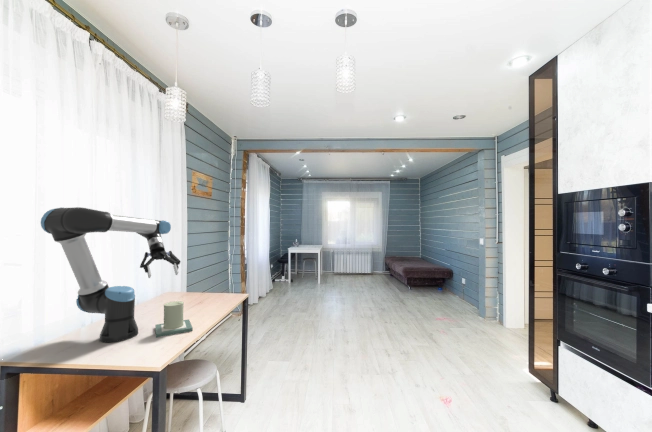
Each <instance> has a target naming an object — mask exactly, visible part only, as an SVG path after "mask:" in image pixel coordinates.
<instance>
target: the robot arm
mask: <svg viewBox="0 0 652 432" xmlns="http://www.w3.org/2000/svg"><path fill="white" fill-rule="evenodd" d="M40 227H41V229H42V230H43V231H44V232H46V233H48V234H50V235H51V236H52V238H53V240H54V242H55V243H59V244H60V245H61V248H62V249H63V252H64V255H65V256H66V260H67V261H68V264H69V266H70V268H71V270H72V273H73V275H74V278H75V279H76V281H77V284H78V286H79V289H78V291H77V294H78V295H77V298H76V301H75V303H76V306H77V308H78V310H80V311H82V312H84V313H88V314H102V315H104V323H103V327H102V329H101V331H100V334H99V341H100V342H102V343H115V342H116V343H117V342H121V341H125V340H129V339H132V338H135V337H136V336H138V334H139V327H138V325H137V322H136V319H135V307H136V305H135V304H136V301H135V300H136V295H135V292H136V291H135V289H134V288H133V287H131V286H126V285H123V286H121V285H116V286H109V284H108V282H107V281H105V280H103V279H102V277H101V275H100V272H99V270H98V268H97V265H96V262H95V260H94V257H93V255H92V254H91V249H90V247H89V245H88V243H87V241H86V240H87V239H86V238H85V236H86V235H87V234H88V233H91V234H92V233H107V232H109V231H110V232H126V233H136V234H138V235H140V236H142V237H143V238H145V239H146V240H147V243H148V248H149V252H147V251H146V252H145V253H144V256H143V259H142V261H141V263H140V265H139V268H141V269H142V268H143V270H144V272H145V273H146V274H147V276H148V279H151V276H152V273H151V269H150V265H151V264H152V263H153V262H154V261H155V260H156V261H157V260H163V261H166V262H168V263H169V264H171V265H173V266H172V267H173V270H174V275H175V276H178V274H179V266H180V264H181V260H180V258H178V257H177V256H176V255H175V254H174V253H173V252H172V250H169V251H166V249H165V245H164V241H163V239H162V235H166V234H169V232H170V231H171V229H172V225H171V222H169V221H168V220H158V219H150V218H149V219H148V218H141V217H133V216H126V215H125V216H124V215H118V214H117V215H115V214H111V212H109V211H103V210H97V209H93V208H88V207H78V206H77V207H56V208H52V209H49V210H47V211H46V212H45V213H44V214H43V215H42V217H41V219H40ZM149 256H150V257H151V258H149ZM148 258H149V259H148ZM147 259H148V260H147Z"/></svg>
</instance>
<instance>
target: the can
mask: <svg viewBox="0 0 652 432" xmlns="http://www.w3.org/2000/svg"><path fill="white" fill-rule="evenodd" d="M183 320H184V301H178V300H177V301H170V302H166V303H164V304H163V323H164V327H163V328H164V329H175V328H179V327H181V326H183V325H184V324H183Z"/></svg>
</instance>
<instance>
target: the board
mask: <svg viewBox="0 0 652 432" xmlns="http://www.w3.org/2000/svg"><path fill="white" fill-rule="evenodd" d="M183 324H184V325H183V326H181V327H179V328H175V329H164V328H163V327H164V322H163V323H158V324H155V327H154V329H155V338H161V337H166V336H171V335H178V334H183V333H189V332H193V326H192V323H191V322H190V319H183Z"/></svg>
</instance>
